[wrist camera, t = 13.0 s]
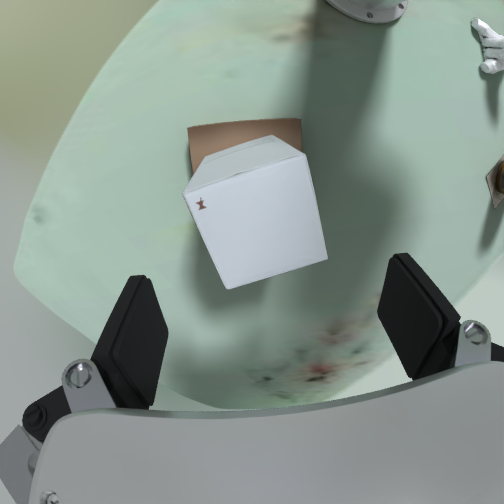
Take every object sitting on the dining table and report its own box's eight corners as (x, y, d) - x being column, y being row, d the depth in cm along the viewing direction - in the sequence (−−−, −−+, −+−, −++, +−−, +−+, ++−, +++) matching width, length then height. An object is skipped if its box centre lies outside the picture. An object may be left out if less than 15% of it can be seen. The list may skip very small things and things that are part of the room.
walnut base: (192, 126, 27) (187, 127, 24) (294, 118, 27) (300, 119, 25) (205, 227, 33) (202, 238, 30) (297, 219, 33) (302, 229, 30)
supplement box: (227, 220, 29) (222, 294, 18) (203, 155, 26) (177, 191, 15) (294, 200, 29) (330, 262, 18) (275, 132, 25) (305, 150, 14)
